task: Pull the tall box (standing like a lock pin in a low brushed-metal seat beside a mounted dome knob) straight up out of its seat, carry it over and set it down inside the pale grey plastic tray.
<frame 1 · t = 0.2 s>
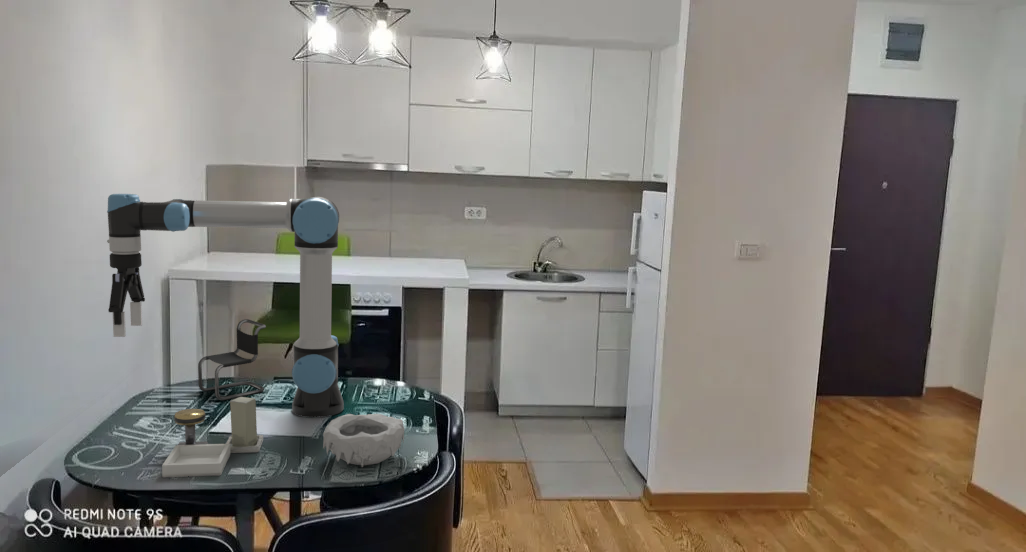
hand: (128, 330, 205), 28 cm above the table, fingers open, 13 cm apart
box: (244, 447, 200), resting in pin seat
bowl: (364, 460, 194), on the table
pin seat: (244, 446, 200), on the table
mounted dome knob: (190, 449, 197), on the table
tray: (197, 465, 187), on the table
chair: (232, 392, 246), on the table
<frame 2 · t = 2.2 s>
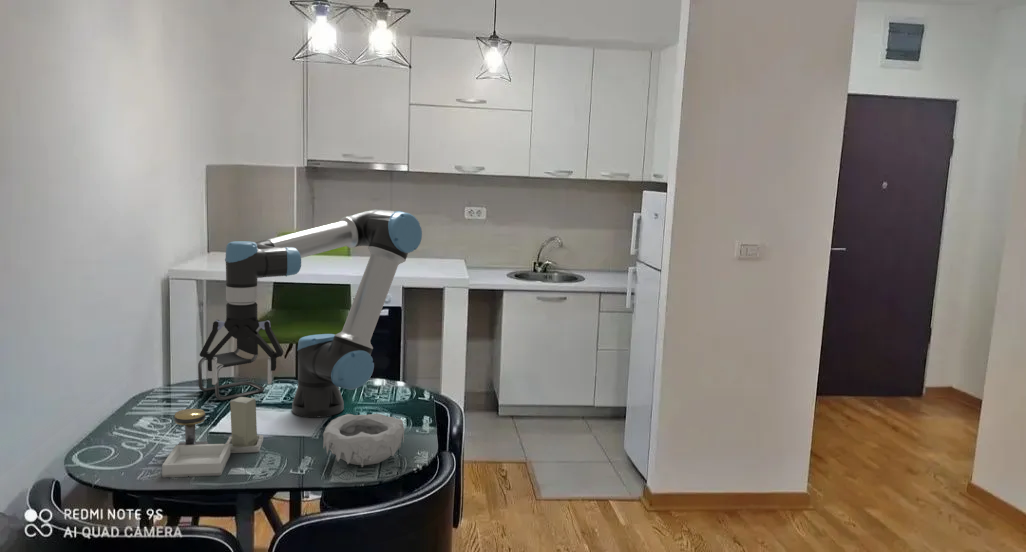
hand: (242, 383, 198), 17 cm above the table, fingers open, 13 cm apart
nothing on the table moved.
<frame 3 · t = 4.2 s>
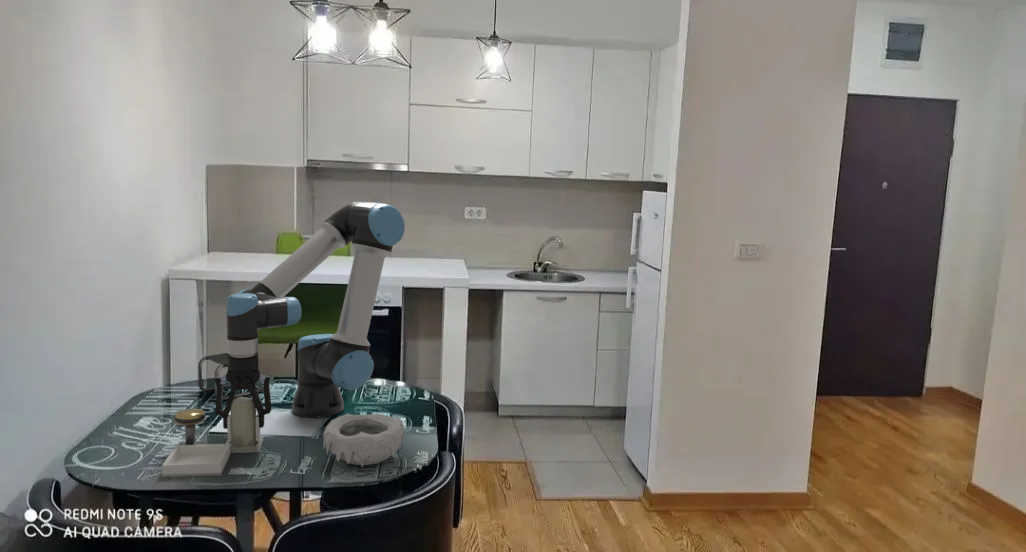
hand: (244, 439, 200), 2 cm above the table, fingers closed on box, 6 cm apart
box: (244, 447, 200), resting in pin seat, touching gripper
everything else where it was.
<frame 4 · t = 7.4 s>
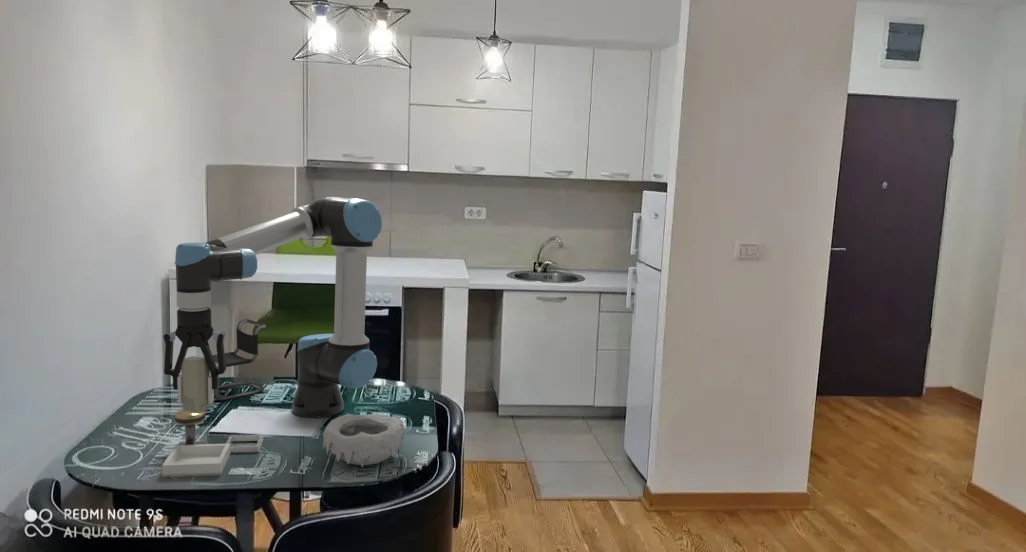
hand: (196, 401, 185), 16 cm above the table, fingers closed on box, 6 cm apart
box: (195, 410, 185), point 14 cm above the table, touching gripper
everything else where it was.
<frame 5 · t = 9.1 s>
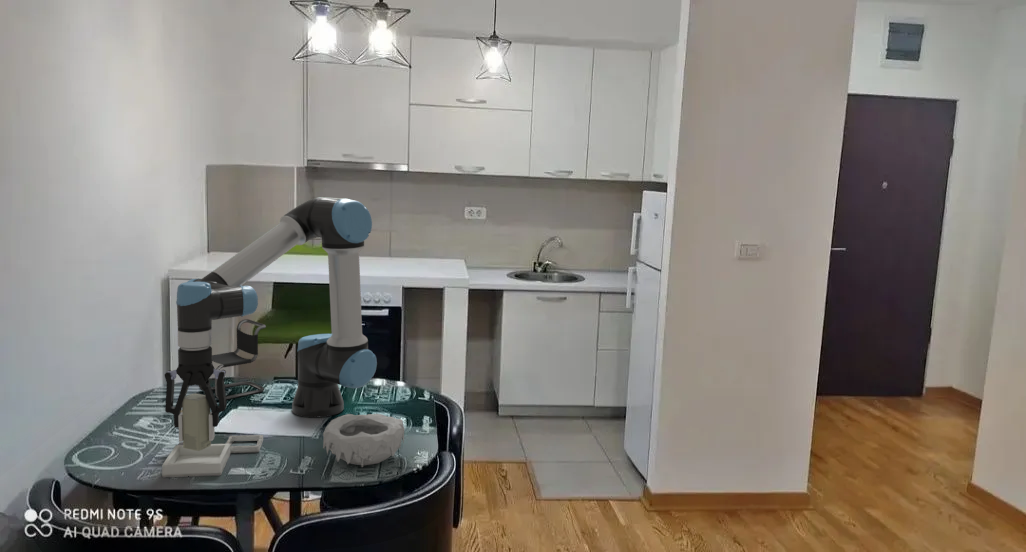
hand: (197, 439, 186), 7 cm above the table, fingers closed on box, 6 cm apart
box: (196, 448, 186), point 5 cm above the table, touching gripper
everything else where it was.
when the fingers open (4 cm above the table, at t = 10.7 s): box drops 1 cm, resting on tray.
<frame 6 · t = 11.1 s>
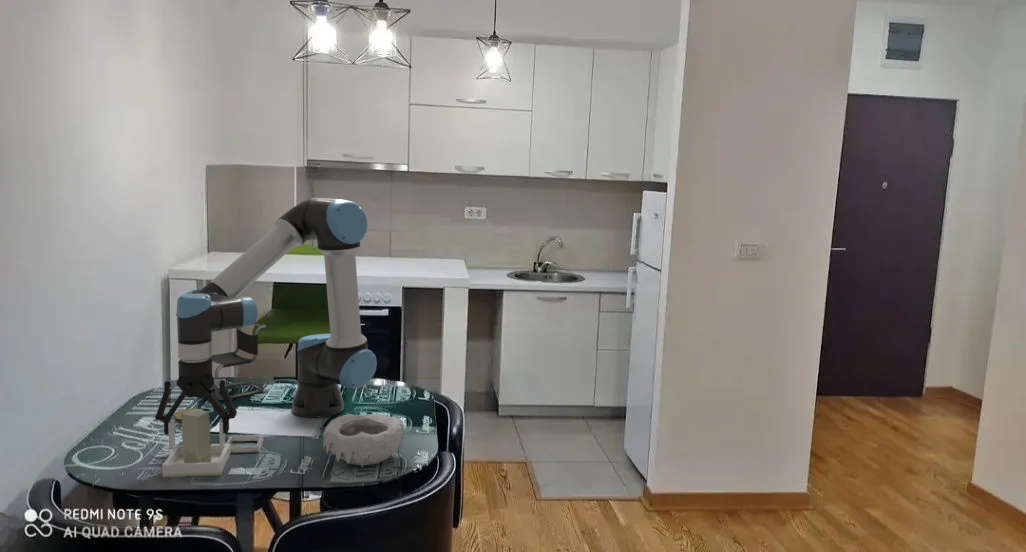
hand: (197, 446, 186), 5 cm above the table, fingers open, 11 cm apart
box: (197, 464, 187), resting on tray
everything else where it was.
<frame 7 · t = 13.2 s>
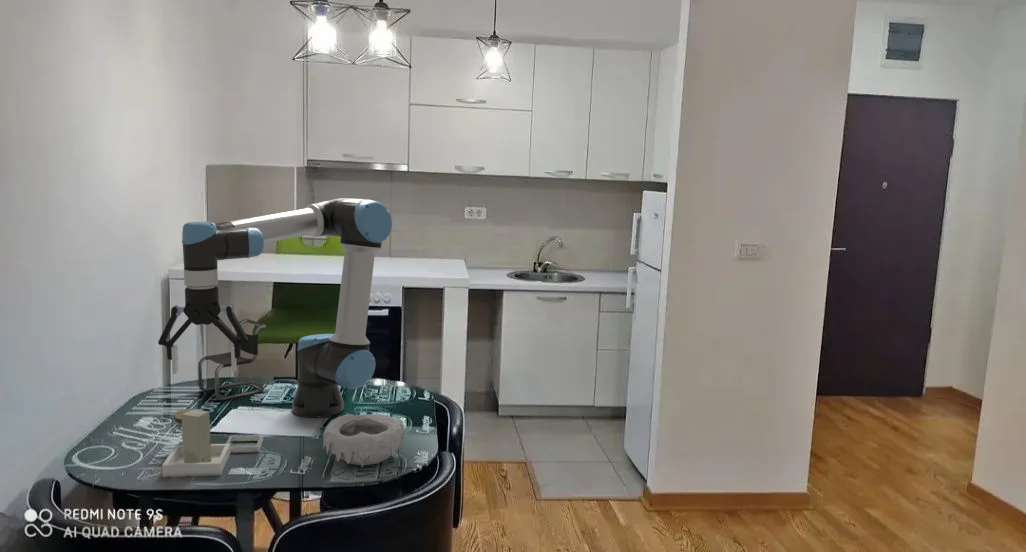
hand: (205, 371, 188), 23 cm above the table, fingers open, 13 cm apart
nothing on the table moved.
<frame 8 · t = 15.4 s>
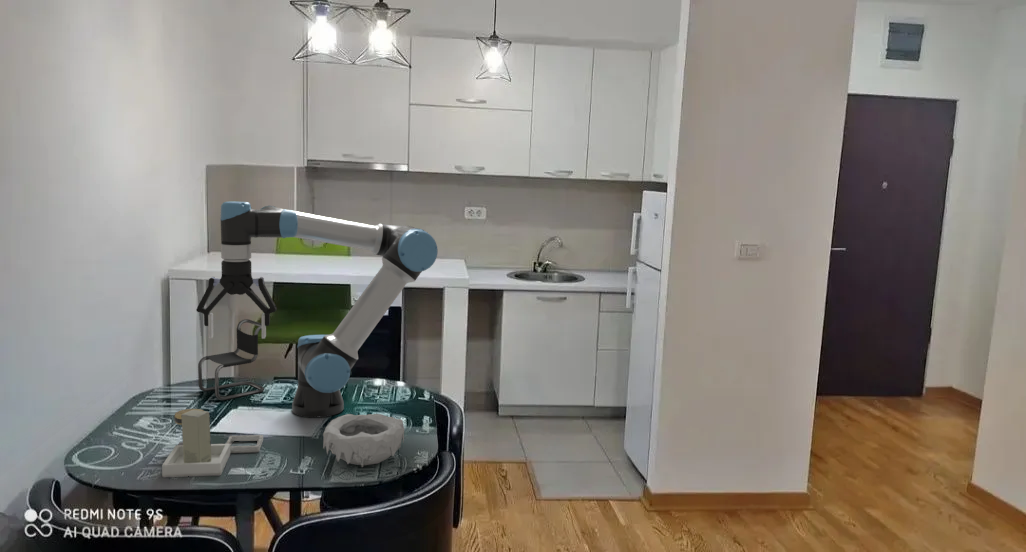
hand: (237, 337, 206), 27 cm above the table, fingers open, 13 cm apart
nothing on the table moved.
at the end: box inside the target area on the tray (0.2 cm from its centre), point 0.4 cm above the tray's base; box tilted 0°; the gripper is holding nothing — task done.
